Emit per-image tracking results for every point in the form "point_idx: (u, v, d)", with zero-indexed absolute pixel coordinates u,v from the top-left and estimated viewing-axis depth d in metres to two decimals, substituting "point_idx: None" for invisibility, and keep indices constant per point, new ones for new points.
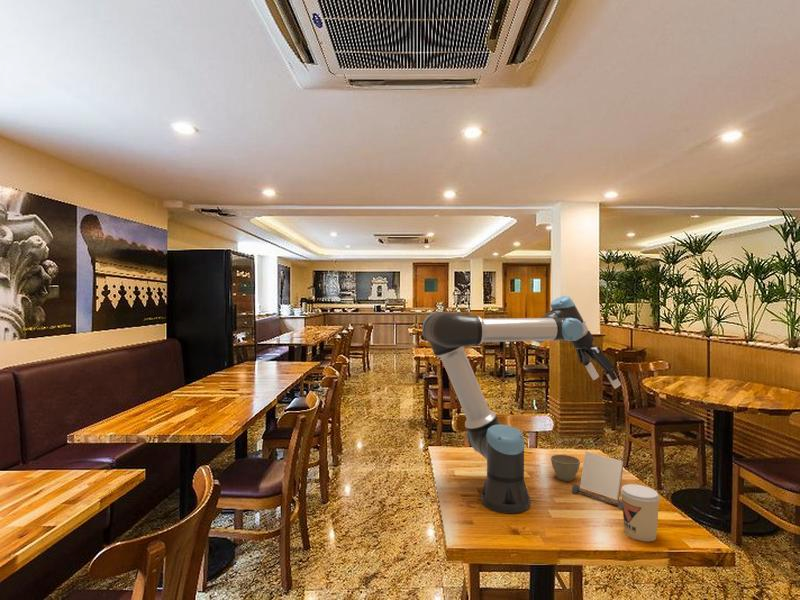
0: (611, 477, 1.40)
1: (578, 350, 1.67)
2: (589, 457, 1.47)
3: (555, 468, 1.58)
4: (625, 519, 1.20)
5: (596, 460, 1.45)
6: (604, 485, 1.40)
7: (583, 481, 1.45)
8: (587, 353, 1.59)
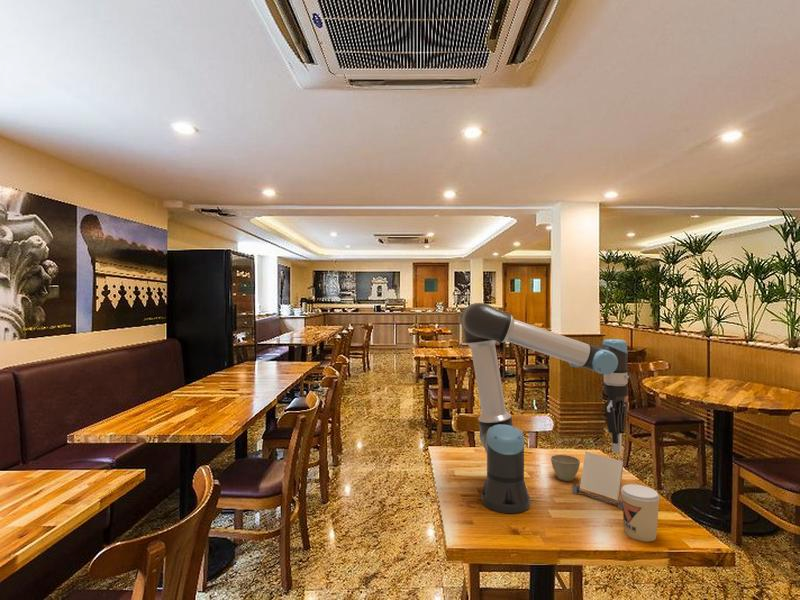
0: (611, 477, 1.40)
1: None
2: (589, 457, 1.47)
3: (555, 468, 1.58)
4: (625, 519, 1.20)
5: (596, 460, 1.45)
6: (604, 485, 1.40)
7: (583, 481, 1.45)
8: None
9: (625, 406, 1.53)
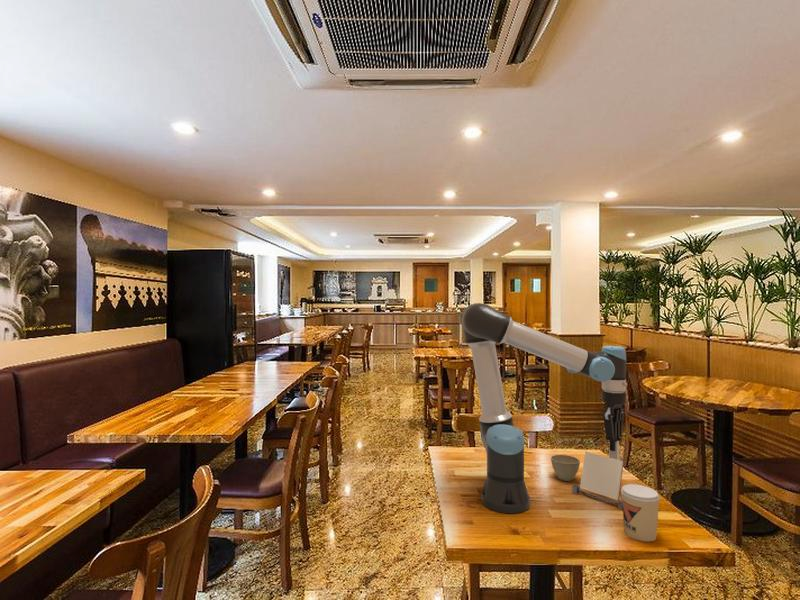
0: (611, 477, 1.40)
1: None
2: (589, 457, 1.47)
3: (555, 468, 1.58)
4: (625, 519, 1.20)
5: (596, 460, 1.45)
6: (604, 485, 1.40)
7: (583, 481, 1.45)
8: None
9: (623, 413, 1.52)
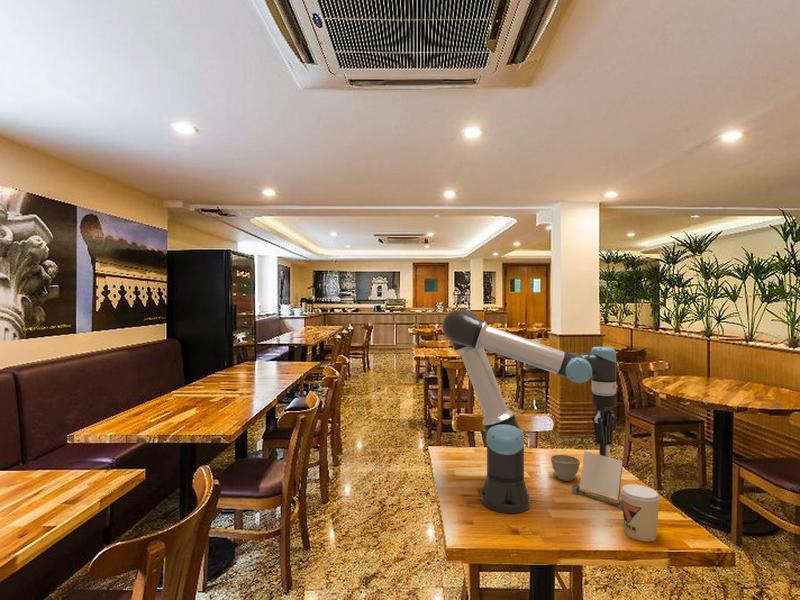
0: (611, 477, 1.40)
1: None
2: (588, 457, 1.46)
3: (555, 468, 1.58)
4: (625, 519, 1.20)
5: (595, 460, 1.45)
6: (604, 485, 1.40)
7: (583, 481, 1.45)
8: None
9: (613, 416, 1.48)
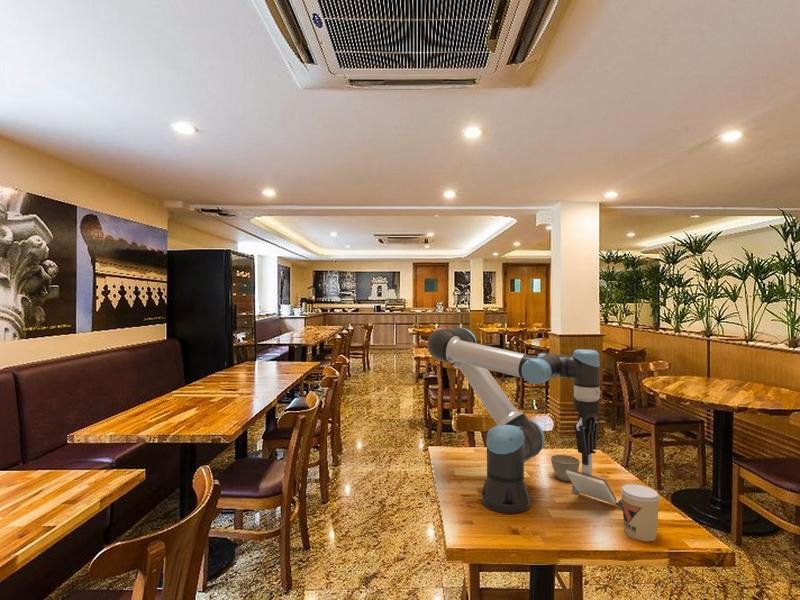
0: (601, 491, 1.35)
1: None
2: (572, 476, 1.39)
3: (555, 468, 1.58)
4: (625, 519, 1.20)
5: (579, 479, 1.37)
6: (598, 494, 1.38)
7: (578, 489, 1.43)
8: None
9: (597, 423, 1.39)
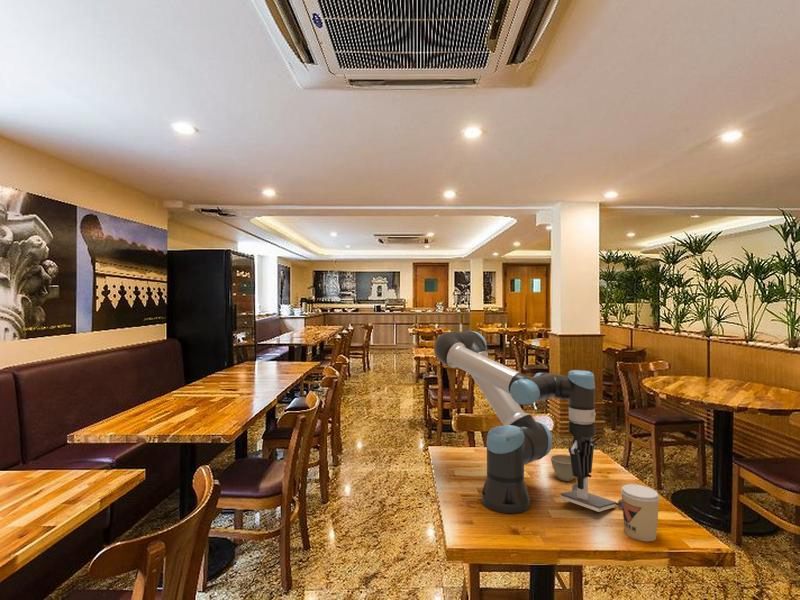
0: None
1: None
2: None
3: (555, 468, 1.58)
4: (625, 519, 1.20)
5: None
6: None
7: None
8: None
9: (593, 446, 1.37)
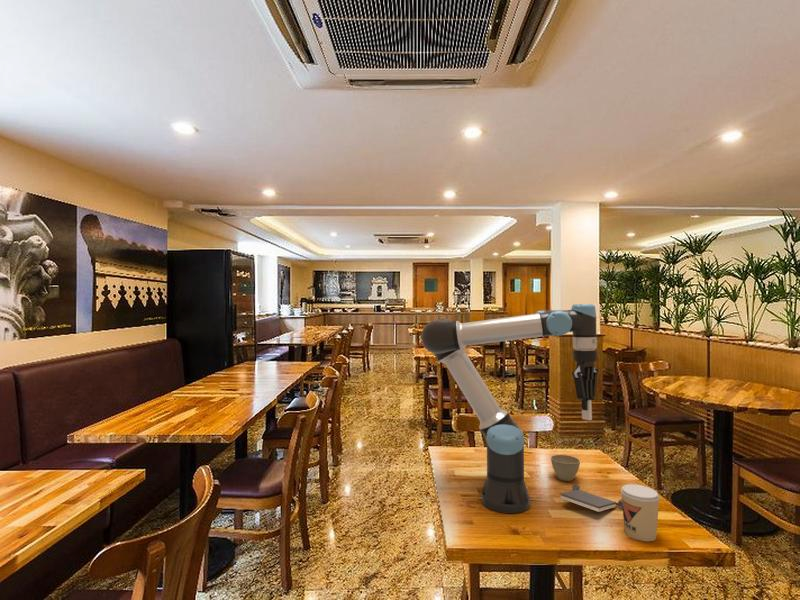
0: None
1: None
2: None
3: (555, 468, 1.58)
4: (625, 519, 1.20)
5: None
6: None
7: None
8: None
9: (596, 373, 1.49)
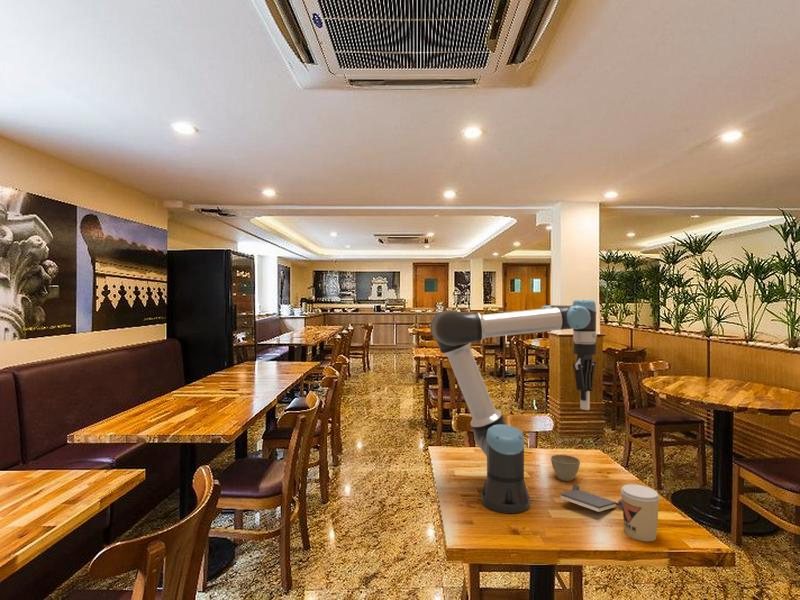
0: None
1: None
2: None
3: (555, 468, 1.58)
4: (625, 519, 1.20)
5: None
6: None
7: None
8: None
9: (594, 365, 1.57)
